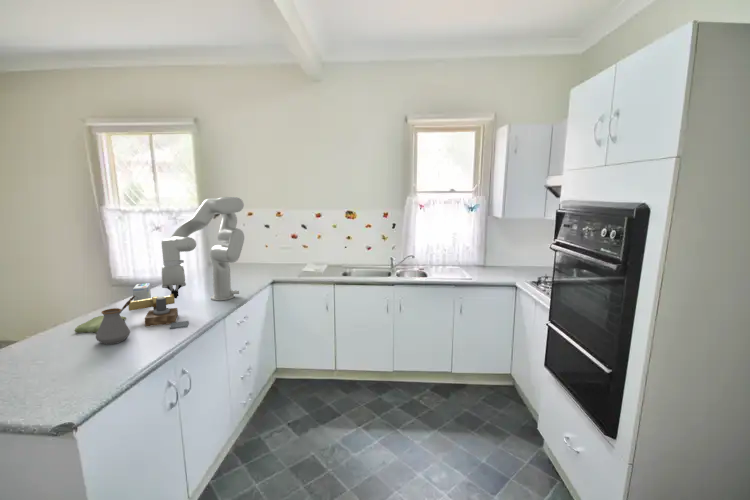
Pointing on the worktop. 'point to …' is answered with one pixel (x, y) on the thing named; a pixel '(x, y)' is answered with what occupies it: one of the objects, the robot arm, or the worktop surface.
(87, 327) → the washcloth
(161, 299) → the plug
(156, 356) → the worktop surface
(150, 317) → the socket block
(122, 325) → the coffee pot
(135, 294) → the light bulb box
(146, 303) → the clip
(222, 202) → the robot arm
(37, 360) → the worktop surface
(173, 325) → the pad
